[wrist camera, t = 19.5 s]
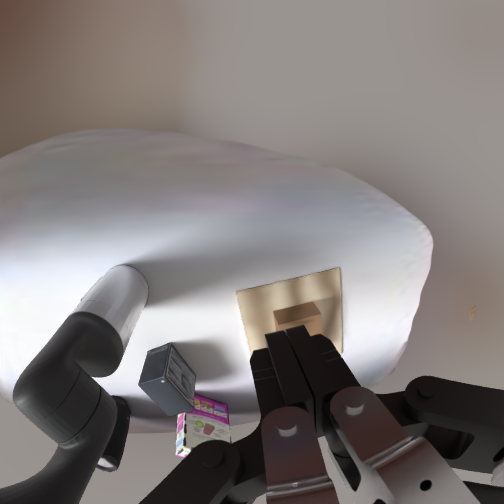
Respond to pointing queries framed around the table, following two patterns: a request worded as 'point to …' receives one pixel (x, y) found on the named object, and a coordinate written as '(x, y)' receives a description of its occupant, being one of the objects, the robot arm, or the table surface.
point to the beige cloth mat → (291, 294)
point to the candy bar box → (202, 425)
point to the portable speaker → (116, 438)
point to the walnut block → (299, 318)
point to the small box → (168, 380)
